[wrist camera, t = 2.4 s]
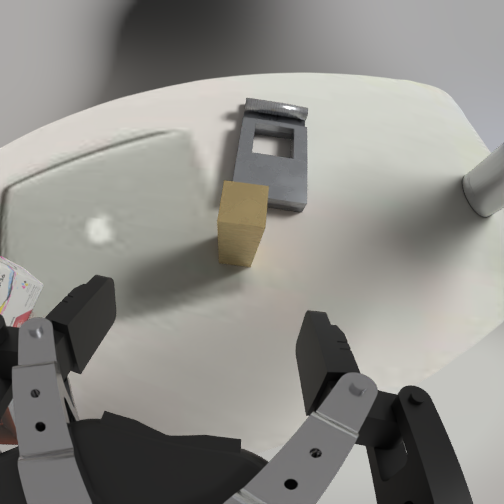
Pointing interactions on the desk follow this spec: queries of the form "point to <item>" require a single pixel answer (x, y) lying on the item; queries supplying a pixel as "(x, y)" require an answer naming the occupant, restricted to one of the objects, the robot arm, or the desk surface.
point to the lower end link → (275, 115)
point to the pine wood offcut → (241, 222)
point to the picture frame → (8, 426)
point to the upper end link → (274, 165)
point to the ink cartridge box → (17, 293)
